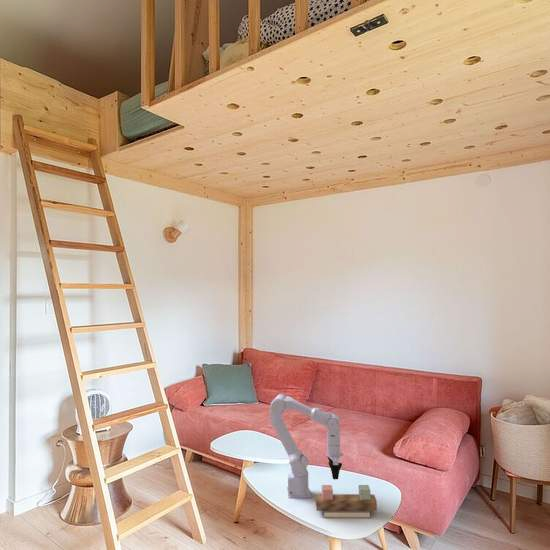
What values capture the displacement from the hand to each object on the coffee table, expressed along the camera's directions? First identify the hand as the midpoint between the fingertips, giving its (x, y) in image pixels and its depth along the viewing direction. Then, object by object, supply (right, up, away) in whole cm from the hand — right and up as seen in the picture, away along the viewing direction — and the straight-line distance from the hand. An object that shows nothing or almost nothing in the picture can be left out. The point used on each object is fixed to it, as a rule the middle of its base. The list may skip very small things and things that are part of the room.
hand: (334, 475), depth 176 cm
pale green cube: (+10, -3, -13) cm, 17 cm away
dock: (+3, -9, -13) cm, 16 cm away
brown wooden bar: (+3, -7, -13) cm, 15 cm away
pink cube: (-5, -3, -12) cm, 14 cm away
